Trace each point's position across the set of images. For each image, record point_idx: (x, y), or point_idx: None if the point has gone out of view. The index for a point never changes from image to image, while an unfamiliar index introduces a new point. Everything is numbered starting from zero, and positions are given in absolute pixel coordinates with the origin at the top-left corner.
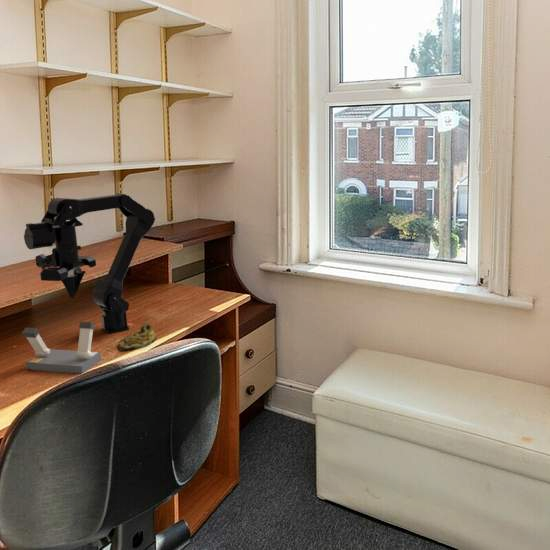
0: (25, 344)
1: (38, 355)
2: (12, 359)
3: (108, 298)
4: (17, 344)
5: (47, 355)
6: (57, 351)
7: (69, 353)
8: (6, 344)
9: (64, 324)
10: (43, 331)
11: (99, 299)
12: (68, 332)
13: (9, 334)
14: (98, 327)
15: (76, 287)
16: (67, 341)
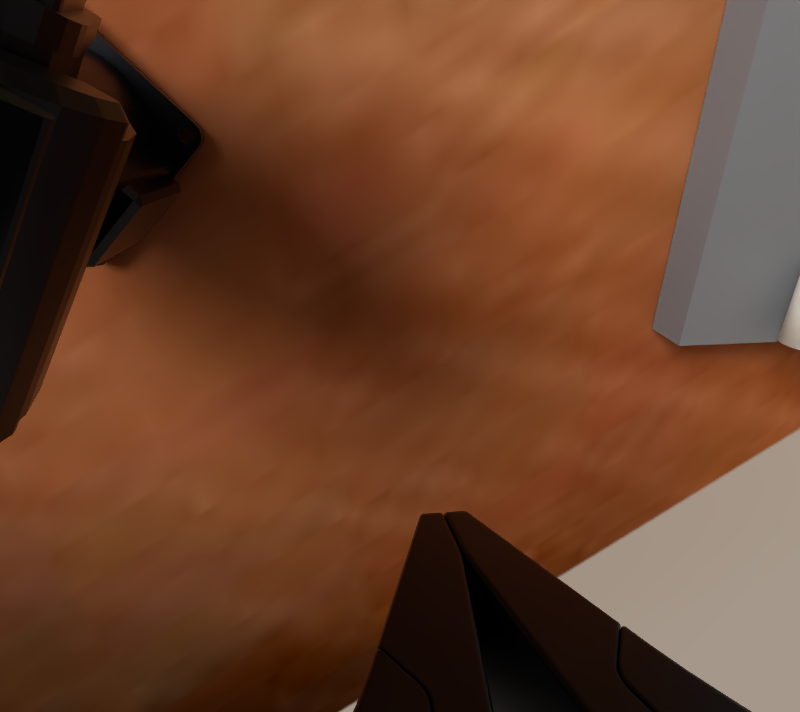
0: None
1: (779, 329)
2: (683, 470)
3: (29, 16)
4: None
5: (790, 273)
6: (731, 250)
7: (781, 135)
8: None
9: (144, 548)
10: (289, 577)
11: (78, 251)
12: (265, 446)
13: None
14: (103, 309)
15: (474, 627)
16: (414, 359)
